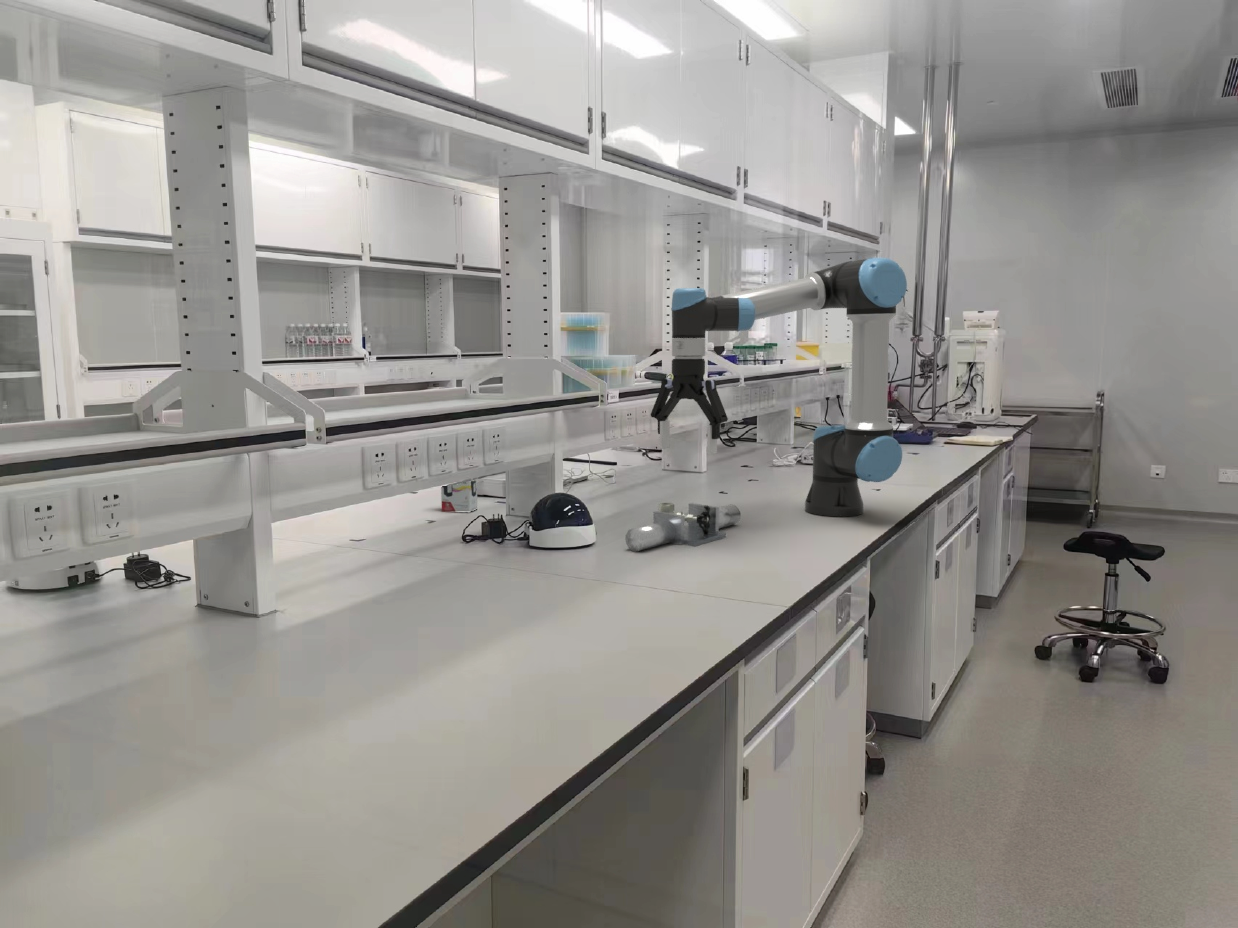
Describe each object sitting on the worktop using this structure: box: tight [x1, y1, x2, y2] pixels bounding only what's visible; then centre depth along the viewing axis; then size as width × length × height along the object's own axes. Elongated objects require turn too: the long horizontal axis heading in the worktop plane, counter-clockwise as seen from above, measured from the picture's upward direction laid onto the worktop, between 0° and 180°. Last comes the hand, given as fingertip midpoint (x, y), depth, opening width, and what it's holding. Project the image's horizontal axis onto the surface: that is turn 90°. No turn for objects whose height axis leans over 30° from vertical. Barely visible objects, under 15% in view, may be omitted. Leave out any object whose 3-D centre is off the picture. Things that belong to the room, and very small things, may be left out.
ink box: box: [440, 479, 478, 512], centre depth 234 cm, size 9×5×12 cm, turn 73°
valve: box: [657, 501, 710, 534], centre depth 205 cm, size 7×7×12 cm
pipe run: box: [624, 502, 742, 552], centre depth 204 cm, size 37×14×6 cm, turn 138°
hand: (687, 451), depth 202 cm, fingers open, 13 cm apart
